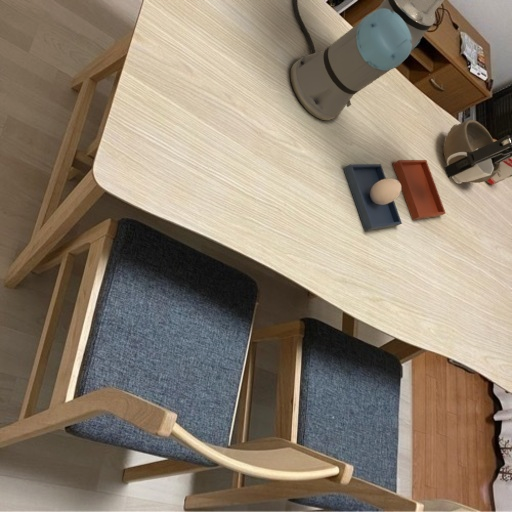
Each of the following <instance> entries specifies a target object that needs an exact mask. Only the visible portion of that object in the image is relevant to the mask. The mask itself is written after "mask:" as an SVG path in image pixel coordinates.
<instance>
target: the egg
mask: <svg viewBox="0 0 512 512" xmlns="http://www.w3.org/2000/svg"><path fill="white" fill-rule="evenodd" d="M401 192H402V188H401V184H400V182H399V180H398V179H395V178H386V179H383V180H380V181H378V182H377V183H375V184H374V185H373V187H372V188H371V191H370V198H371V200H372V201H373V202H374V203H376V204H380V205H384V204H388V203H390V202H392V201H394V202H395V200H396V199H397V198H398V197H399V196H400V194H401Z"/></svg>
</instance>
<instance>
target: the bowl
mask: <svg viewBox="0 0 512 512" xmlns="http://www.w3.org/2000/svg"><path fill="white" fill-rule="evenodd" d="M493 142H495V140H494V138H493V137H492V134H490V132H489V130H488V129H487V128H486V127H485V126H484V125H483V124H481V123H480V122H479V121H477V120H475V119H469V120H467V121H463V122H461V123H458V124H457V123H456V124H453V126H451V128H450V130H449V131H448V133H447V134H446V136H445V138H444V143H443V144H444V145H443V157H444V161H445V163H446V164H447V159H448V157H449V156H450V155H453V154H455V153H458V152H466V153H467V152H469V153H470V152H473V151H474V150H476V149H479V148H482V147H484V146H486V145H488V144H490V143H493ZM464 157H466V156H464V155H461V156H456V157H453V158H451V159H450V160H449V162H448V163H449V165H450V164H452V163H454V162H456V161H458V160H460V159H462V158H464ZM495 164H496V163H495ZM500 166H501V163H499V164H496V167H494V169H493V172H492V174H491V175H489V176H486V177H483V178H479V179H476V180H473V181H468V182H467V183H473V184H479V183H484V182H486V181H487V180H489V179H490V178H492V177H493V176H494V175H495V174H496V173H497V172H498V171H499V170H500Z"/></svg>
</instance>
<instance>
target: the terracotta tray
mask: <svg viewBox="0 0 512 512" xmlns="http://www.w3.org/2000/svg"><path fill="white" fill-rule="evenodd" d="M392 167H393V169H394V171H395V175H396V177H397V181H399V182H400V184H401V192H402V194H403V197H404V200H405V202H406V205H407V208H408V211H409V213H410V216H411V219H412V221H415V220H422V219H423V220H424V219H429V218H436V217H441V216H444V215H446V214H447V212H446V209H445V207H444V205H443V201H442V200H441V196H440V193H439V191H438V188H437V185H436V183H435V180H434V177H433V175H432V171H431V169H430V166H429V164H428V161H427V160H426V159H399V160H397V161H395V162H393V163H392Z"/></svg>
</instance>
